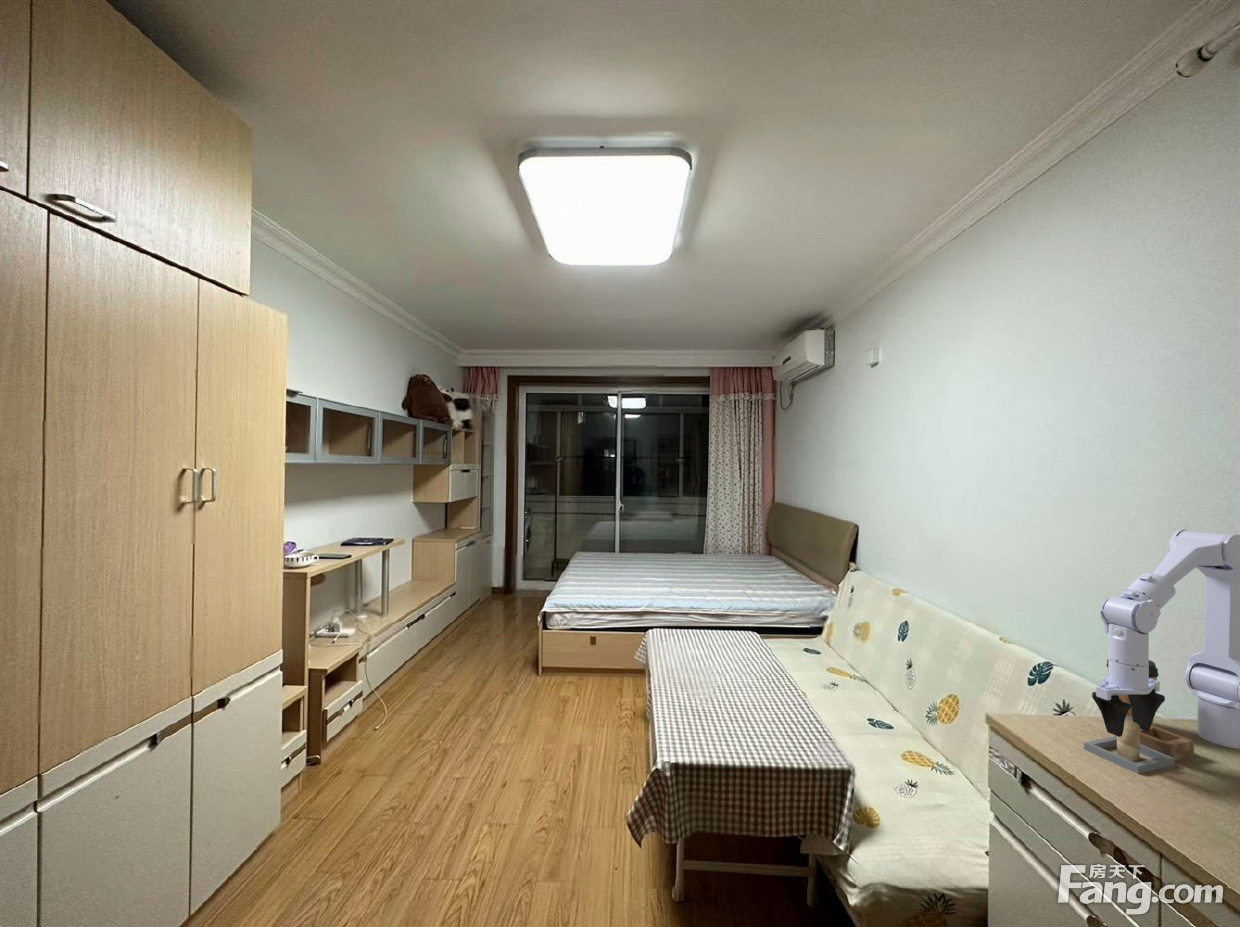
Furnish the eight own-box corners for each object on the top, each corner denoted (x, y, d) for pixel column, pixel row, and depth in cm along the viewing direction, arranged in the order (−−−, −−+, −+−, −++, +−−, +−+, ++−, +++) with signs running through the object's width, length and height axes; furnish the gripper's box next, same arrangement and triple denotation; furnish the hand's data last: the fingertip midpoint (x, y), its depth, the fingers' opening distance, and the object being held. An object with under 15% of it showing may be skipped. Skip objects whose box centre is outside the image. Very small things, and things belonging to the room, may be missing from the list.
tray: (1119, 746, 112) (1119, 735, 112) (1174, 770, 103) (1174, 758, 103) (1084, 754, 109) (1084, 742, 109) (1138, 779, 100) (1138, 766, 100)
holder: (1150, 743, 113) (1150, 724, 113) (1193, 761, 106) (1193, 740, 106) (1126, 748, 111) (1126, 729, 111) (1169, 767, 104) (1169, 746, 104)
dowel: (1124, 754, 108) (1124, 718, 108) (1143, 762, 105) (1143, 725, 105) (1112, 756, 107) (1112, 720, 107) (1132, 765, 104) (1132, 728, 104)
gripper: (1129, 650, 112) (1129, 717, 112) (1078, 657, 108) (1078, 727, 108) (1173, 662, 105) (1172, 733, 105) (1120, 671, 101) (1120, 744, 101)
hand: (1128, 731), depth 106 cm, fingers open, 7 cm apart
